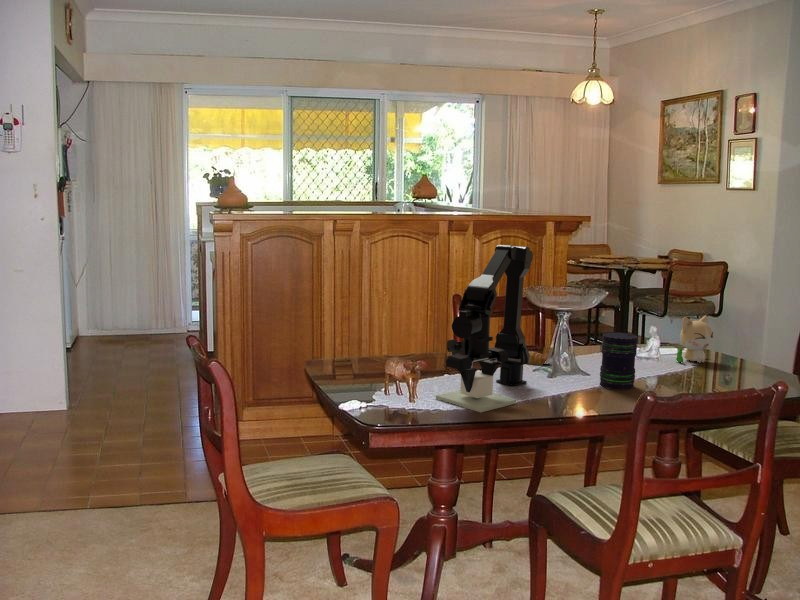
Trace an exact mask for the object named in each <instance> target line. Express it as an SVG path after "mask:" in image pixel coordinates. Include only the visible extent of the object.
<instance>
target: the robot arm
mask: <svg viewBox="0 0 800 600" xmlns="http://www.w3.org/2000/svg"><path fill="white" fill-rule="evenodd" d="M533 259H534V253H533V251H532V250H531V249H530V247H529V246H525V245H524V246H523V245H512V244H498V245H496V246H495V248H494V253H493V255H492V257H491V258H490V259H489V262H488V263H487V264H486V267H484V270H483V272H482V273H481V275H480V276H479V277H476V278H474V279H472V280H471V282H470V283H469V284H468V285H467V287H466V288H465V289H464V292H463V295H462V298H461V301H460V304H459V307H458V311H459V316H456V317H455V318H454V320H453V321H452V323H451V330H452V333H453V335H455V337H457V338H459V339H462V340H461V341H457V339H456V338H453V339H448V340H447V342H446V351H447V352H448V353H451V355H448V356H447V357H446V358H445V367H448V368H452V369H456V370H457V371H458V372H459V375H460V377H461V376H462V379H463V382H464V386H465V389H466V392H470V391H471V388H472V385H473V380H474V376H475V372H477V368H475V367H473V365H474V364H475V363H478V364H479V366H480V367H481V373H483V374H487V375H491V376H493V377H494V375H495V373H496V372H497V370H498V369H500V370H499V372H500V373H499V379H496V380H495V382H496V383H499V384H504V385H507V386H510V387H515V386H519V385H524V384H526V383H527V380H524V379H523V378H524V376H523V375H524V365H529V364H528V363H529V360H530V354H529V352H528V351H529V350H528V347H527V345H526V337H525V334H524V332H523V330H522V328H521V321H522V310H523V308H522V307H523V295H524V293H523V292H524V279H525V277H526V275H527V274H528V272H529V271H530V269H531V264H532V262H533ZM504 274H505V275H506V282H505V283H506V285H505V301H504V311H503V312H504V313H503V314H504V315H503V326H502V328H501V330H500V331H499V332H498V333H496V336H495V343H494V346H493V347H490V342H492V341H493V338H494V337H493V336H490V332H491V331H490V329H491V315H492V314H493V306H494V305H495V302H496V300H497V297H498V293H497V290H496V289H497V286H498V284H499V283H500V281H501V279H502V277H503V276H504ZM499 367H500V368H499Z"/></svg>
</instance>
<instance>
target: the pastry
mask: <svg viewBox="0 0 800 600" xmlns="http://www.w3.org/2000/svg"><path fill="white" fill-rule="evenodd" d="M528 352H529V354H530V360H529V363H528V364H527V365H534V366H535V365H536V366H544V365H543V364H544V363H545V361H546V360H547V358H549V357H548V356H546V355H545V354H543V353H541V352H538V351H533V350H531V351H530V350H528Z"/></svg>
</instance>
